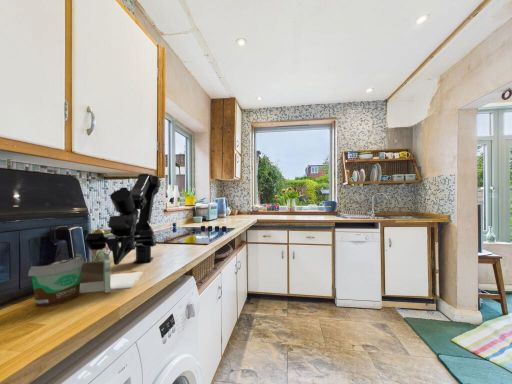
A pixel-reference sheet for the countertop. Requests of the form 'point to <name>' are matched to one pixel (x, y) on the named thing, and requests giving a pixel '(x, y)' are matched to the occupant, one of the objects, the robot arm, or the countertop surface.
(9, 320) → the countertop surface
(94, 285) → the card
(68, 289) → the food container
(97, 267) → the fixed fence
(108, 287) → the gate panel
